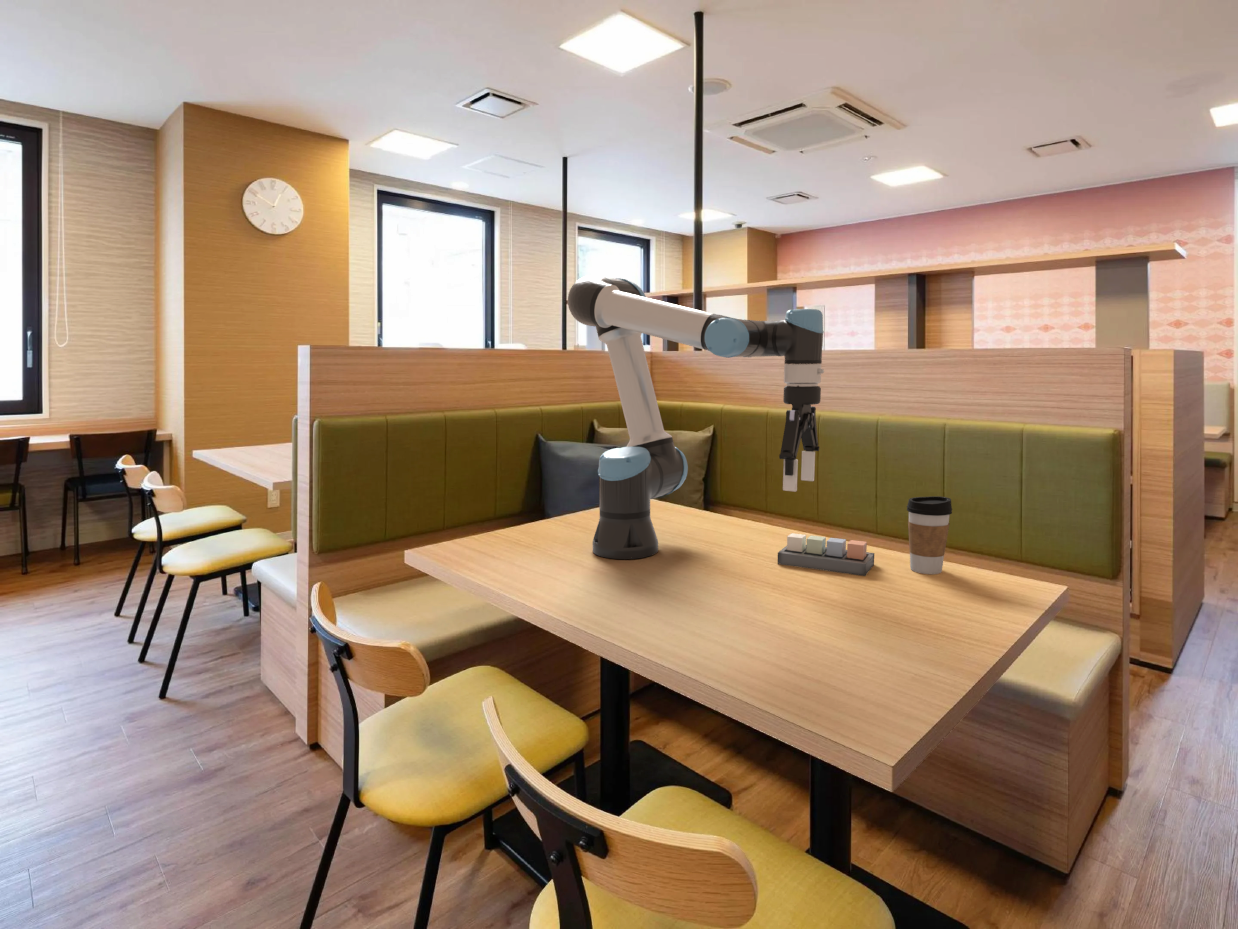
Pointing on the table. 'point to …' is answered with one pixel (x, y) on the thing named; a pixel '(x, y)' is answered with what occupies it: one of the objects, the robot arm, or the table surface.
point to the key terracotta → (856, 549)
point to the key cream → (796, 542)
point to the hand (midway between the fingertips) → (799, 485)
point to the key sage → (816, 544)
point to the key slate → (836, 547)
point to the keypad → (826, 561)
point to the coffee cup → (928, 532)
